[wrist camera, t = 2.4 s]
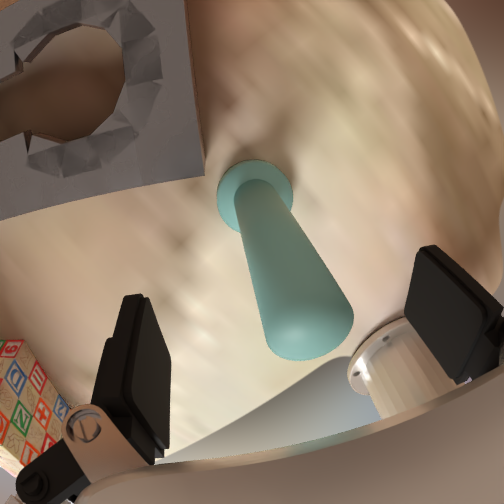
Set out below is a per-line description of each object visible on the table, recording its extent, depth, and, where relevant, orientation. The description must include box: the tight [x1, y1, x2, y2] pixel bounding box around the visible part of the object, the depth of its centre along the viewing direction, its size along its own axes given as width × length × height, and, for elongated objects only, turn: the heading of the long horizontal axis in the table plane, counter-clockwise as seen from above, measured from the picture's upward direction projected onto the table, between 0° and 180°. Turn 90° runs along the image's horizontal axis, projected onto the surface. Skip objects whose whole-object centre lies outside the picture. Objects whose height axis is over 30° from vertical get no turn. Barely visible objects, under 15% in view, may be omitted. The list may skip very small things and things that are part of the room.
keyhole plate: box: [0, 0, 206, 221], centre depth 15 cm, size 24×14×4 cm, turn 95°
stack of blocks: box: [0, 340, 71, 478], centre depth 25 cm, size 21×6×12 cm, turn 4°
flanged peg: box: [217, 160, 354, 361], centre depth 16 cm, size 5×5×14 cm
